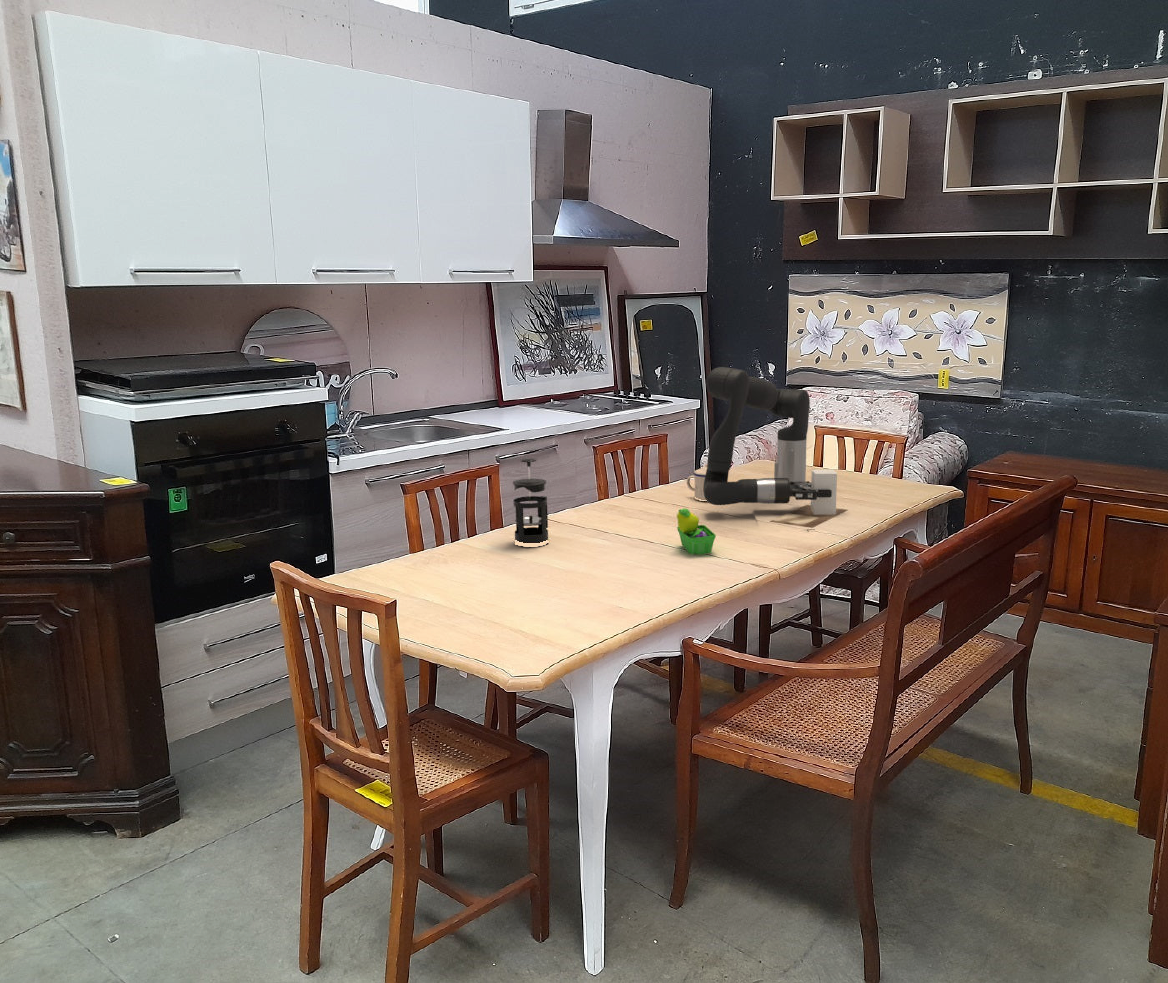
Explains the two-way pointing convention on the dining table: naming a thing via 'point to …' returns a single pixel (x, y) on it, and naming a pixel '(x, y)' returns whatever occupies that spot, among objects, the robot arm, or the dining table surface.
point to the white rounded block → (824, 481)
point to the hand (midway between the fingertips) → (828, 490)
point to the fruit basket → (694, 533)
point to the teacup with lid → (698, 482)
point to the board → (805, 517)
